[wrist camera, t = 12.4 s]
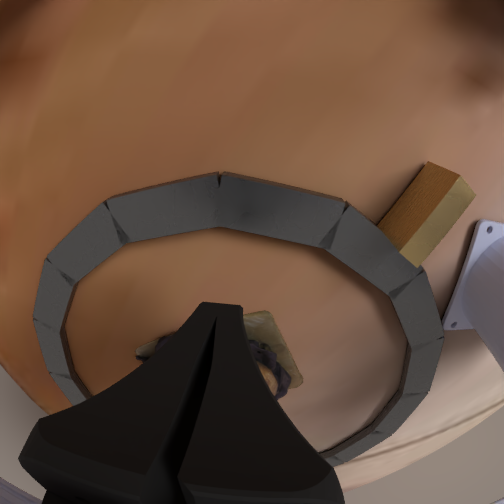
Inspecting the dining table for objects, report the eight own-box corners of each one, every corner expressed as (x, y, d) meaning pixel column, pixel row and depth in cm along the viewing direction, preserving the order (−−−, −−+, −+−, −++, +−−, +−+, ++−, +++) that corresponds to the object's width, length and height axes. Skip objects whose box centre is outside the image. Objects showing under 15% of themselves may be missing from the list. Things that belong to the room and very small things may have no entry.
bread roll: (268, 296, 19) (269, 335, 15) (306, 382, 22) (311, 421, 19) (127, 336, 21) (109, 372, 17) (183, 408, 24) (175, 442, 21)
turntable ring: (530, 299, 17) (551, 322, 15) (271, 491, 31) (270, 512, 28) (186, -10, 11) (167, -34, 8) (27, 383, 24) (14, 404, 21)
